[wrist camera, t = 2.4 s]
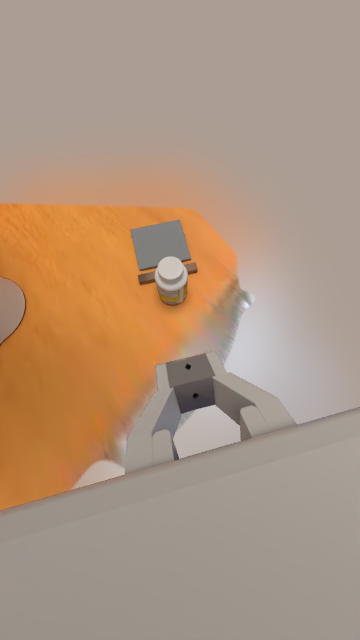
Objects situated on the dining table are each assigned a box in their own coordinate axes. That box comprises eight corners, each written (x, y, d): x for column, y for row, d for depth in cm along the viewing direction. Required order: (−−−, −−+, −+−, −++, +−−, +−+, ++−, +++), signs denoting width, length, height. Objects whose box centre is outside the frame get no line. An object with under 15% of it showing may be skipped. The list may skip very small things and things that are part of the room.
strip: (140, 284, 41) (139, 282, 40) (138, 277, 41) (137, 275, 40) (197, 272, 42) (197, 269, 40) (194, 265, 42) (195, 262, 41)
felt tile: (139, 271, 42) (139, 269, 41) (131, 231, 44) (130, 229, 44) (190, 259, 42) (191, 258, 42) (179, 221, 45) (179, 219, 44)
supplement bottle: (176, 276, 41) (176, 245, 32) (191, 297, 40) (195, 272, 30) (153, 289, 41) (145, 262, 31) (168, 311, 39) (164, 290, 30)
